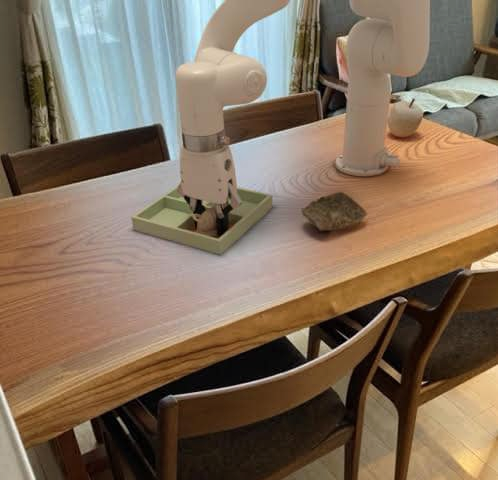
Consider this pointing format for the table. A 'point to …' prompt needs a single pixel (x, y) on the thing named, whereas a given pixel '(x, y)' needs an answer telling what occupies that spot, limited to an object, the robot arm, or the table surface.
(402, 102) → the decorative object
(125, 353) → the table surface
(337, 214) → the stone
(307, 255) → the table surface
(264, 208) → the grid
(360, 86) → the robot arm
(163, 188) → the table surface
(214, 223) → the decorative ornament
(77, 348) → the table surface
